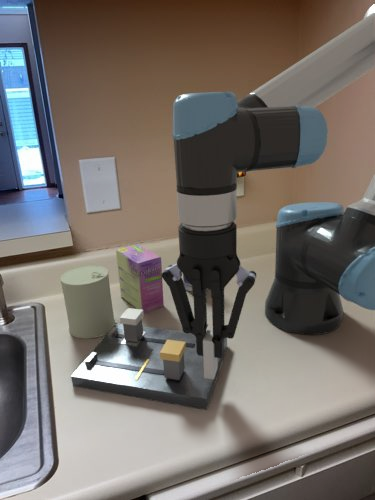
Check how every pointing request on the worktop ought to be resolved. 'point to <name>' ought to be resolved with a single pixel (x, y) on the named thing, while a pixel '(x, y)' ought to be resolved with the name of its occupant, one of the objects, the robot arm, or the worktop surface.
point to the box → (140, 277)
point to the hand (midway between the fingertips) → (210, 372)
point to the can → (88, 301)
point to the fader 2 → (173, 359)
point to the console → (146, 368)
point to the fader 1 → (132, 324)
